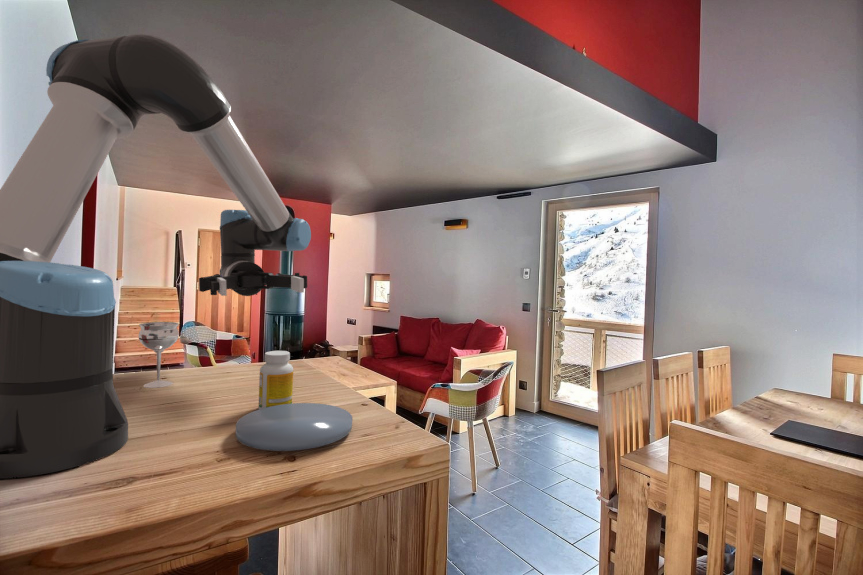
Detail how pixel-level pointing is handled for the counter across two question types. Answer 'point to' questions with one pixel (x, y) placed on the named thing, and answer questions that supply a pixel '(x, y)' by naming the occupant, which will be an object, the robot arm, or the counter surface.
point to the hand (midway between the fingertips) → (264, 286)
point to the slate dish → (293, 426)
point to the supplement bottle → (276, 380)
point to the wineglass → (158, 343)
